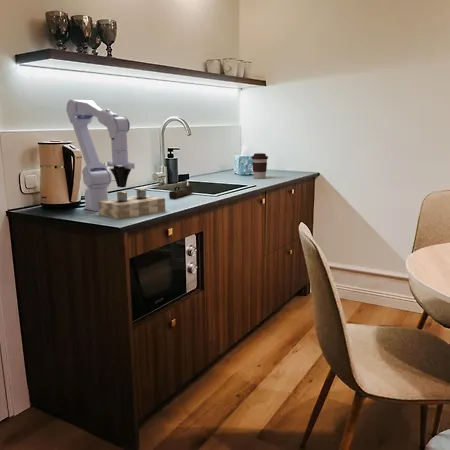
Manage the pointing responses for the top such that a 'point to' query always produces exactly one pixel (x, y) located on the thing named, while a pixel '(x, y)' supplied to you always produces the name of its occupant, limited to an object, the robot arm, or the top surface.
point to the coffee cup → (259, 165)
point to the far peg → (141, 194)
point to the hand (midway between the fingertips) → (121, 187)
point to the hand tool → (180, 192)
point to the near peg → (122, 196)
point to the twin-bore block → (131, 207)
